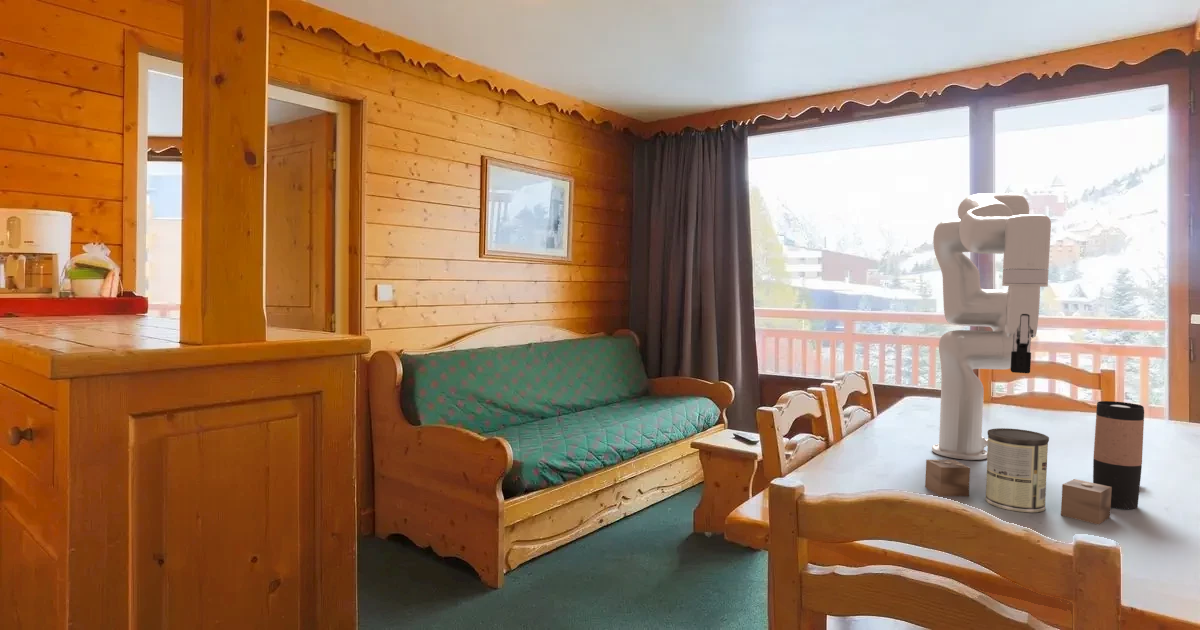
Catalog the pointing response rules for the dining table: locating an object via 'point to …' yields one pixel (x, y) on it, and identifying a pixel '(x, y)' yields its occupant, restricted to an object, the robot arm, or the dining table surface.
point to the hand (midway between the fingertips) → (1020, 372)
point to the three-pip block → (947, 477)
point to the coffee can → (1016, 469)
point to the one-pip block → (1086, 501)
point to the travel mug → (1119, 451)
